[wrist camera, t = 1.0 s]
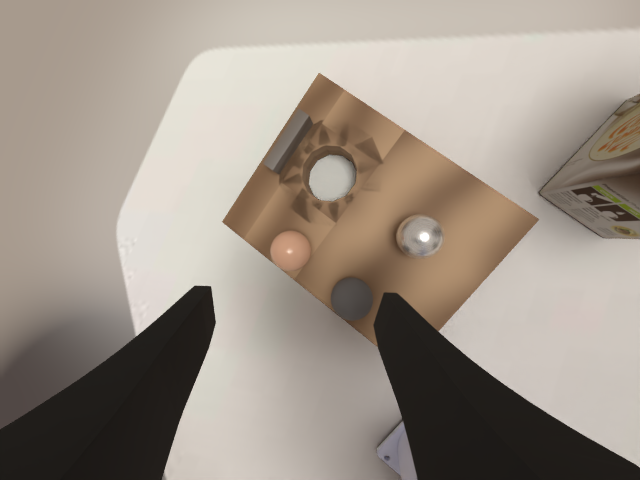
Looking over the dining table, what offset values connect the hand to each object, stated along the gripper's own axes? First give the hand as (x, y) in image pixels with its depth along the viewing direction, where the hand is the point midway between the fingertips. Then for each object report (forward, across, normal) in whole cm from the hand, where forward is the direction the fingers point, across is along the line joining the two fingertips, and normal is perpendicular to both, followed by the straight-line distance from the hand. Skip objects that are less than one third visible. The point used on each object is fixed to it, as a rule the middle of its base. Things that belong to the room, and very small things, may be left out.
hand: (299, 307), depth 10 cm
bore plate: (+12, -6, +1) cm, 13 cm away
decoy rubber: (+6, -4, +5) cm, 9 cm away
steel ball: (+7, -9, 0) cm, 11 cm away
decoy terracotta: (+9, 0, +3) cm, 9 cm away
